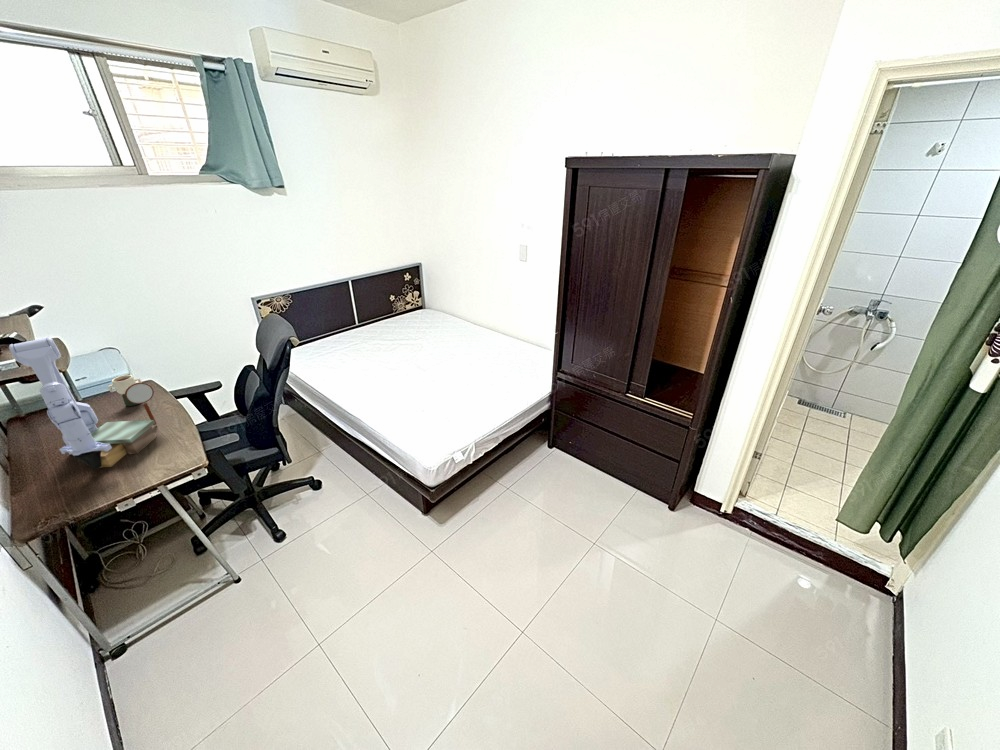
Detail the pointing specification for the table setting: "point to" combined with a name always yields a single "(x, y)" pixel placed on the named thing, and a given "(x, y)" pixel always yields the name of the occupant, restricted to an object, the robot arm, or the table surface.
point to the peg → (113, 455)
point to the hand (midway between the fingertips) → (97, 467)
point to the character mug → (123, 386)
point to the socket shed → (126, 434)
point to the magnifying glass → (140, 396)
